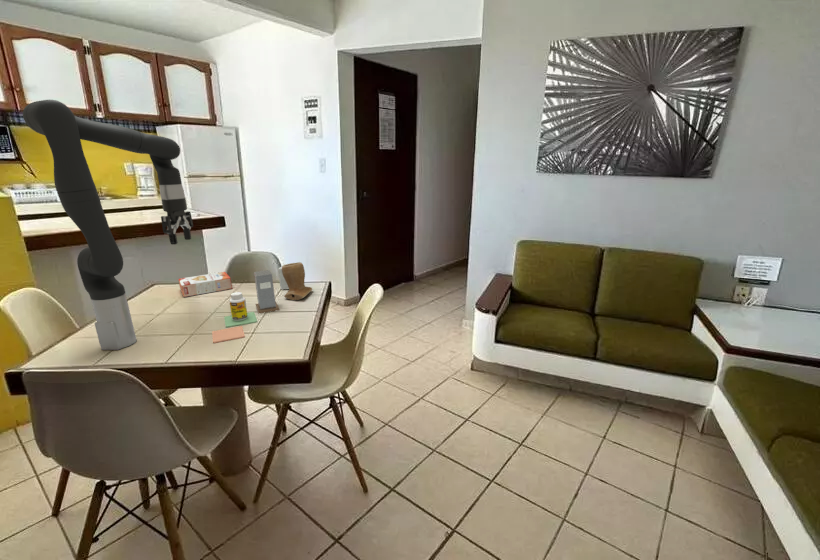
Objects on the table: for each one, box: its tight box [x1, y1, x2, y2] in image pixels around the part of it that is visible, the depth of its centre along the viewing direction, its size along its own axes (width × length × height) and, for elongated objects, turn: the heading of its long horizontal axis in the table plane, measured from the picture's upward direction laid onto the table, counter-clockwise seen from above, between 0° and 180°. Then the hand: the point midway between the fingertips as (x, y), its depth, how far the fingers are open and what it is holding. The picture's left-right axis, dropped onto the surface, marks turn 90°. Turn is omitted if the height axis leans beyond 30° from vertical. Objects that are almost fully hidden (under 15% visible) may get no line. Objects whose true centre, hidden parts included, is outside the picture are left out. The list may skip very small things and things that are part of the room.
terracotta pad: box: [211, 325, 246, 344], centre depth 141 cm, size 10×10×1 cm
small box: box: [277, 265, 289, 291], centre depth 191 cm, size 8×6×10 cm
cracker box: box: [178, 271, 233, 298], centre depth 190 cm, size 14×6×21 cm
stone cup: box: [281, 261, 313, 301], centre depth 178 cm, size 15×12×15 cm
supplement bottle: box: [228, 291, 248, 321], centre depth 152 cm, size 6×6×10 cm
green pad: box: [223, 311, 258, 329], centre depth 154 cm, size 11×11×1 cm
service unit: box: [253, 269, 280, 314], centre depth 163 cm, size 9×8×15 cm
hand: (181, 241), depth 148 cm, fingers open, 8 cm apart
